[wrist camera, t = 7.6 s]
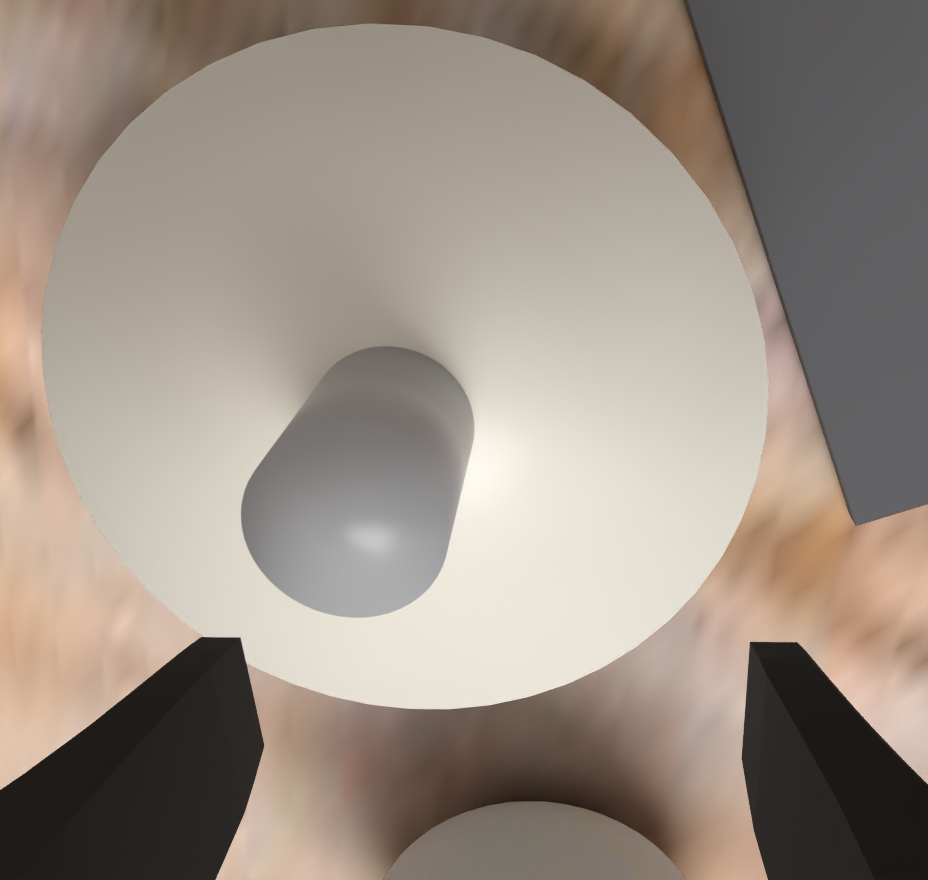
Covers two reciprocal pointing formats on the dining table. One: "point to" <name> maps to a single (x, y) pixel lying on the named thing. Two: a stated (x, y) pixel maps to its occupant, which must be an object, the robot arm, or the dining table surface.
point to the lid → (405, 366)
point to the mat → (840, 213)
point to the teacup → (532, 847)
